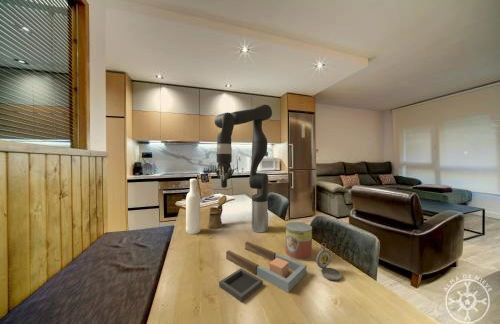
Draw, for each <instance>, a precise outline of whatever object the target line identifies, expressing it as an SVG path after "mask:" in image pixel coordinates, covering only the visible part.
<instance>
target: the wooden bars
mask: <svg viewBox="0 0 500 324" xmlns="http://www.w3.org/2000/svg"><path fill="white" fill-rule="evenodd" d="M244 243H245V244H244V249H245V251H246V250H247V251H249V252H251V253H253V254H256V255H258V256H260V257H261V258H265V259H267V260H269V261H270V262H272V261H273V260H274V259H275V255H276V254H277V252H274V251H272V250H269V249H267V248H265V247H262V246H260V245H257V244H255V243H252V242H250V241H246V242H244ZM225 253H226V254H225V259H226V260H227V261H230V262H231V263H234V265H236V266H238V267H241V269H243V270H245V271H247V272H249V273H250V274H252V275H254V276H257V267H258V266H259V264H258V263H256V262H253V261H251V260H250V259H247V258H245V257H243V256H241V255H240V254H237V253H235V252H233V251H231V250H230V249H229V250H227V251H225Z"/></svg>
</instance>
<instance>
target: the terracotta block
mask: <svg viewBox="0 0 500 324" xmlns="http://www.w3.org/2000/svg"><path fill="white" fill-rule="evenodd" d="M269 270H270V271H272V272H274V273H276V274H278V275H280V276H282V277H284V278H286V276H287V275H288V274H289V272H290V271H289V270H290V269H289V262H287V261H284V260H282V259H279V258H276V259H274V260H273V261H270V262H269Z"/></svg>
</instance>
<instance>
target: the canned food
mask: <svg viewBox="0 0 500 324" xmlns="http://www.w3.org/2000/svg"><path fill="white" fill-rule="evenodd" d="M312 245H313V227H312V225H310V224H308V223H305V222H299V221H290V222H288V223H286V224H285V250H284V251H285V255H286V257H288V258H290V259H292V260H295V261H307V260H310V259H312V256H313V250H312V249H313V246H312Z"/></svg>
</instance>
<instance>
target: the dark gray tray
mask: <svg viewBox="0 0 500 324" xmlns="http://www.w3.org/2000/svg"><path fill="white" fill-rule="evenodd" d="M263 280H264V279H262V278H260V277H259V276H257V275H255V274H253V273H251V272H249V271H248V270H246V269H244V268H238V269H237V270H236V271H234V272H232V273H231V274H230V275H228V276H226V277H224V278H223V279H221V280H219V282H218V284H219V285H218V286H219V288H221V289H222V290H224V291H225V292H227V294H230V295H231V296H232V297H233V298H235V299H236V300H237V301H239V302H240V303H242V302H243V301H245V300H246V299H248V297H250V296H251V295H252V294H253V293H255V292H256V291H257V290H258V289H259V288H260V287H262V286H263V285H264V284H263V283H264V282H263Z"/></svg>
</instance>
